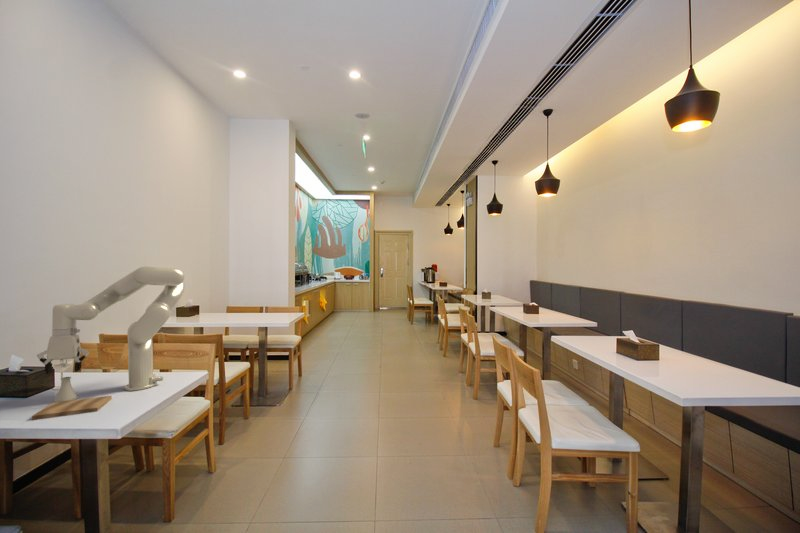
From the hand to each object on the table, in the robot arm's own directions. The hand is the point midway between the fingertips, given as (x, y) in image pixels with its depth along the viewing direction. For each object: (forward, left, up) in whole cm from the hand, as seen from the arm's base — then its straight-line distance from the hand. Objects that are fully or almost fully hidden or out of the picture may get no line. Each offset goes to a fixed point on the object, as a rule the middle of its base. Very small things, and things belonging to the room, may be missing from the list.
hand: (63, 372), depth 151 cm
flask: (-1, 0, -13) cm, 13 cm away
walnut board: (-9, +13, -13) cm, 20 cm away
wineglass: (+10, -23, -13) cm, 28 cm away
